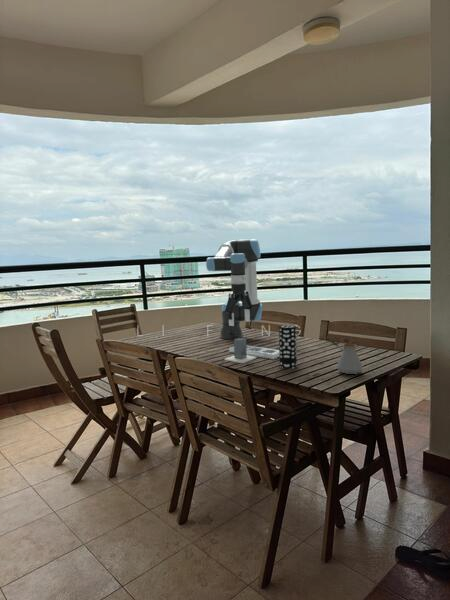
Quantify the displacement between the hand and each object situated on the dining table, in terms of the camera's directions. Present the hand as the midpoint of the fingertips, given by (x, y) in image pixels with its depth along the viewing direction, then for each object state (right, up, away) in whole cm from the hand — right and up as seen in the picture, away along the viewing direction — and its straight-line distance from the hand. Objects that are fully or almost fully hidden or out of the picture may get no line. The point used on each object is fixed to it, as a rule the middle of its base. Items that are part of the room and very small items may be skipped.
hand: (239, 323), depth 220 cm
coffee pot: (+47, -21, -24) cm, 57 cm away
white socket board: (+9, -17, +13) cm, 24 cm away
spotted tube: (+23, -21, -14) cm, 34 cm away
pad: (+1, -19, +2) cm, 19 cm away
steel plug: (+1, -18, +2) cm, 18 cm away
